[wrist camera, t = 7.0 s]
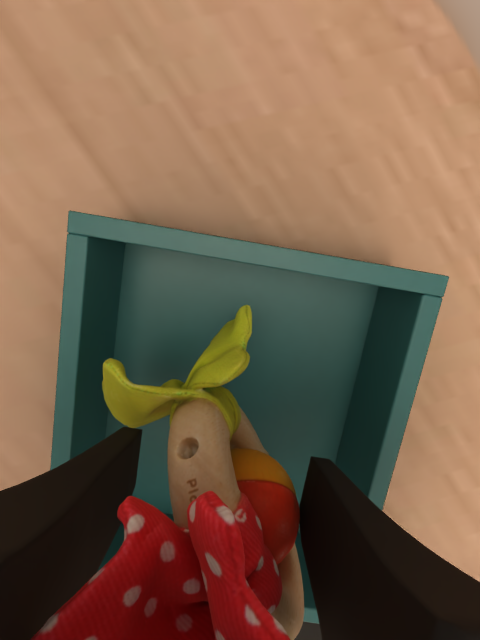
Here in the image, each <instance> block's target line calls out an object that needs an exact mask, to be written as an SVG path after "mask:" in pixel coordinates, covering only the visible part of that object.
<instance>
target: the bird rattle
mask: <svg viewBox="0 0 480 640" xmlns="http://www.w3.org/2000/svg"><path fill="white" fill-rule="evenodd" d="M251 333H252V312H251V308H250V306H249V305H244V306H242V307H241V308H240V309H239V310H238V312H237V314H236V317H235V319H233V320H231V321H229V322H227V323H226V324H225V325H224V326H223V327H222V329H221V330H220V331H219V332H218V334H217V335H216V336H215V337H214V338H213V339H212V341H211V342H210V345H209V346H208V347H207V348H206V350H205V351H204V352H203V353H202V355H201V356H200V357H199V359H198V360H197V362H196V363H195V365H194V367H193V368H192V370H191V372H190V374H189V376H188V378H187V380H186V382H185V383H184V382H182V381H180V380H177V379H171V380H169V381H167V382H166V383H164V384H163V385H161V386H160V387H158V386H149V385H137V384H133V383H132V382H131V381H129V379H128V378H127V377H126V373H125V368H124V366H123V364H122V363H121V362H120V361H118V360H116V359H112V358H109V359H107V360H105V362H104V363H103V381H102V389H103V394H104V400H105V402H106V404H107V406H108V408H109V410H110V411H111V413H112V415H113V416H114V417H115V418H116V419H117V420H118V421H120V422H121V423H122V424H124V425H127V426H128V427H130V428H137V427H140V426H143V425H146V424H148V423H151V422H153V421H156V420H158V419H161V418H163V417H165V416H167V415H170V431H169V438H168V460H167V464H168V481H169V492H170V500H171V506H172V511H173V517H174V522H173V521H172V520H171V519H170V518H169V517H168V516H166V515H165V514H164V513H162V512H161V511H160V510H158V509H157V508H156V507H154V506H153V505H151V504H149V503H147V502H145V501H143V500H141V499H139V498H136V497H134V496H128V497H127V498H126V499H125V500H124V501H123V502H122V503H121V504H120V505H119V508H118V511H117V517H118V518H119V520H120V521H121V522H122V523H123V525H124V542H123V544H122V546H121V547H120V549H119V550H118V552H117V553H116V555H115V556H114V557H113V558H112V559H111V560H110V561H109V562H108V563H107V564H106V565H105V566H104V567H102V568H101V569H100V570H99V571H98V572H97V573H96V574H95V575H94V576H93V577H92V578H91V579H90V580H89V581H88V582H87V583H86V584H85V585H84V586H83V587H82V588H81V589H80V590H79V591H78V592H77V593H76V594H75V595H74V596H73V597H72V598H71V599H70V600H68V601H67V602H66V603H65V604H64V605H63V606H62V607H61V608H60V609H59V610H58V611H57V612H56V613H55V614H54V615H52V616H51V617H50V618H49V619H48V620H47V622H46V623H45V624H44V626H43V627H42V628H41V629H40V630H39V631H38V632H37V633H36V634H35V635H34V636H33V637H32V638H31V639H30V640H294V639H295V638H296V636H297V635H298V633H299V632H300V629H301V627H302V624H303V618H304V591H303V583H302V575H301V569H300V563H299V559H298V554H297V549H296V545H295V540H296V537H297V533H298V529H299V521H300V511H299V504H298V501H297V497H296V492H295V488H294V486H293V483H292V481H291V479H290V477H289V475H288V474H287V472H286V471H285V470H284V468H283V467H282V466H281V465H280V464H279V463H278V462H277V461H276V460H275V459H274V458H272V457H271V456H269V454H268V452H267V451H266V450H265V449H264V447H263V446H262V444H261V442H260V440H259V438H258V436H257V434H256V432H255V430H254V428H253V426H252V424H251V423H250V421H249V419H248V418H247V416H246V415H245V413H244V412H243V411H242V409H241V408H240V406H239V405H238V403H237V401H236V399H235V398H234V396H233V395H232V393H231V392H230V391H229V390H228V389H226V388H224V387H222V386H221V385H224V384H226V383H228V382H230V381H231V380H233V379H235V378H236V377H238V376H239V375H240V374H241V373H243V372H244V371H245V369H246V368H247V366H248V364H249V360H250V356H249V354H248V352H246V347H247V342H248V340H249V338H250V336H251Z"/></svg>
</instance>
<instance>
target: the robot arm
mask: <svg viewBox="0 0 480 640" xmlns="http://www.w3.org/2000/svg"><path fill="white" fill-rule="evenodd" d="M142 430H143V429H136V428H130V427H122V428H120V429H119V430H117V431H116V432H114V433H113V434H111V435H110V436H108V437H107V438H105V439H104V440H102V441H100V442H99V443H97V444H96V445H94V446H93V447H91V448H89V449H88V450H86V451H85V452H83V453H81V454H79V455H78V456H76V457H74V458H72V459H70V460H69V461H67V462H65V463H63V464H61V465H60V466H58V467H56V468H54V469H52V470H50V471H48V472H46V473H44V474H42V475H39V476H37V477H35V478H33V479H30V480H28V481H26V482H23V483H21V484H18V485H16V486H13V487H10V488H7V489H5V490H2V491H0V640H30V639H31V638H32V637H33V636H34V635H35V634H36V633H37V632H38V631H39V630H40V629H41V628H42V627H43V626H44V624H45V623H46V622H47V620H48V619H49V618H50V617H51V616H52V615H54V614H55V613H56V612H57V611H58V610H59V609H60V608H61V607H62V606H63V605H64V604H65V603H66V602H67V601H68V600H70V599H71V598H72V597H73V596H74V595H75V594H76V593H77V592H78V591H79V590H80V589H81V588H82V587H83V586H84V585H85V584H86V583H87V582H88V581H89V580H90V579H91V578H92V577H93V576H94V575H95V574H96V573H97V571H98V569H99V567H100V565H101V563H102V561H103V559H104V557H105V555H106V553H107V551H108V549H109V547H110V545H111V543H112V541H113V539H114V537H115V535H116V533H117V530H118V528H119V526H120V524H121V521H120V520H119V518H118V517H117V511H118V508H119V505H120V504H121V503H122V502H123V501H124V500H125V499H126V498H127V497H128V496H132V494H133V491H134V488H135V485H136V478H137V470H138V462H139V454H140V446H141V438H142ZM299 511H300V521H299V525H300V535H301V543H302V548H303V552H304V557H305V561H306V566H307V570H308V575H309V579H310V584H311V588H312V592H313V597H314V601H315V606H316V610H317V614H318V619H319V625H320V630H321V635H322V640H480V582H479V581H477V580H475V579H474V578H472V577H470V576H469V575H467V574H465V573H464V572H462V571H461V570H459V569H458V568H456V567H455V566H453V565H452V564H450V563H449V562H447V561H446V560H444V559H443V558H441V557H440V556H438V555H437V554H435V553H434V552H432V551H431V550H430V549H428V548H427V547H425V546H424V545H423V544H421V543H420V542H419V541H418V540H416V539H415V538H414V537H412V536H411V535H410V534H409V533H407V532H406V531H405V530H403V529H402V528H401V527H400V526H399V525H397V524H396V523H395V522H394V521H393V520H392V519H391V518H389V517H388V516H387V515H386V514H385V513H384V512H383V511H382V510H381V509H379V508H378V507H377V506H376V505H375V504H374V503H373V502H372V501H371V500H370V499H369V498H368V497H367V496H366V495H365V494H364V493H363V492H362V491H361V490H360V489H359V488H358V487H357V486H356V485H355V484H354V483H353V482H352V481H351V480H350V479H349V478H348V477H347V476H346V475H345V474H344V473H343V472H342V471H341V470H340V469H339V468H338V467H337V466H336V465H335V464H334V463H333V462H332V461H331V460H330V459H326V458H319V457H313V456H311V458H310V462H309V466H308V471H307V475H306V479H305V484H304V488H303V492H302V497H301V501H300V505H299Z"/></svg>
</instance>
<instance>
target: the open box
mask: <svg viewBox="0 0 480 640" xmlns="http://www.w3.org/2000/svg"><path fill="white" fill-rule="evenodd" d="M67 232H68V234H67V245H66V259H65V273H64V287H63V301H62V315H61V329H60V343H59V357H58V371H57V385H56V399H55V413H54V427H53V441H52V455H51V469H50V470H52V469H54V468H56V467H58V466H60V465H61V464H63V463H65V462H67V461H69V460H70V459H72V458H74V457H76V456H78V455H79V454H81V453H83V452H85V451H86V450H88V449H89V448H91V447H93V446H94V445H96V444H97V443H99V442H100V441H102V440H104V439H105V438H107V437H108V436H110V435H111V434H113V433H114V432H116V431H117V430H119V429H120V428H122V427H128V426H127V425H124V424H122V423H121V422H120V421H118V420H117V419H116V418H115V417H114V416H113V415H112V413H111V411H110V410H109V408H108V406H107V404H106V402H105V400H104V394H103V389H102V381H103V363H104V362H105V360H107V359H109V358H112V359H116V360H118V361H120V362H121V363H122V364H123V366H124V368H125V373H126V377H127V378H128V379H129V381H131V382H132V383H133V384H137V385H149V386H158V387H160V386H161V385H163V384H164V383H166V382H167V381H169V380H171V379H177V380H180V381H182V382H184V383H185V382H186V380H187V378H188V376H189V374H190V372H191V370H192V368H193V367H194V365H195V363H196V362H197V360H198V359H199V357H200V356H201V355H202V353H203V352H204V351H205V350H206V348H207V347H208V346H209V345H210V342H211V341H212V339H213V338H214V337H215V336H216V335H217V334H218V332H219V331H220V330H221V329H222V327H223V326H224V325H225V324H226V323H227V322H229V321H231V320H233V319H235V317H236V314H237V312H238V310H239V309H240V308H241V307H242V306H244V305H249V306H250V308H251V312H252V333H251V336H250V338H249V340H248V342H247V347H246V352H248V354H249V356H250V360H249V364H248V366H247V368H246V369H245V371H244V372H243V373H241V374H240V375H239V376H238V377H236V378H235V379H233V380H231V381H230V382H228V383H226V384H224V385H221V386H222V387H224V388H226V389H228V390H229V391H230V392H231V393H232V395H233V396H234V398H235V399H236V401H237V403H238V405H239V406H240V408H241V409H242V411H243V412H244V413H245V415H246V416H247V418H248V419H249V421H250V423H251V424H252V426H253V428H254V430H255V432H256V434H257V436H258V438H259V440H260V442H261V444H262V446H263V447H264V449H265V450H266V451H267V452H268V454H269V456H271V457H272V458H274V459H275V460H276V461H277V462H278V463H279V464H280V465H281V466H282V467H283V468H284V470H285V471H286V472H287V474H288V475H289V477H290V479H291V481H292V483H293V486H294V488H295V492H296V497H297V501H298V504H299V505H300V501H301V497H302V492H303V488H304V484H305V479H306V475H307V471H308V466H309V462H310V458H311V456H313V457H319V458H326V459H330V460H331V461H332V462H333V463H334V464H335V465H336V466H337V467H338V468H339V469H340V470H341V471H342V472H343V473H344V474H345V475H346V476H347V477H348V478H349V479H350V480H351V481H352V482H353V483H354V484H355V485H356V486H357V487H358V488H359V489H360V490H361V491H362V492H363V493H364V494H365V495H366V496H367V497H368V498H369V499H370V500H371V501H372V502H373V503H374V504H375V505H376V506H377V507H378V508H379V509H381V510H382V509H383V505H384V502H385V498H386V495H387V491H388V488H389V484H390V481H391V477H392V474H393V470H394V467H395V463H396V460H397V456H398V453H399V449H400V446H401V442H402V439H403V435H404V432H405V428H406V425H407V421H408V418H409V414H410V411H411V407H412V404H413V400H414V397H415V393H416V390H417V386H418V383H419V379H420V376H421V372H422V369H423V365H424V362H425V358H426V355H427V351H428V347H429V344H430V340H431V337H432V333H433V330H434V326H435V323H436V319H437V316H438V312H439V309H440V305H441V302H442V298H441V297H443V296H444V293H445V289H446V286H447V282H448V279H449V277H448V276H445V275H439V274H433V273H428V272H422V271H416V270H410V269H405V268H399V267H393V266H388V265H382V264H376V263H370V262H365V261H359V260H353V259H347V258H341V257H336V256H330V255H324V254H318V253H313V252H307V251H301V250H295V249H290V248H284V247H278V246H272V245H266V244H261V243H255V242H249V241H243V240H238V239H232V238H226V237H220V236H214V235H209V234H203V233H197V232H191V231H186V230H180V229H174V228H168V227H163V226H157V225H151V224H145V223H139V222H134V221H128V220H122V219H116V218H110V217H105V216H99V215H93V214H87V213H81V212H75V211H69V215H68V229H67ZM136 429H143V430H142V438H141V446H140V454H139V462H138V470H137V478H136V485H135V488H134V491H133V494H132V496H134V497H136V498H139V499H141V500H143V501H145V502H147V503H149V504H151V505H153V506H154V507H156V508H157V509H158V510H160V511H161V512H162V513H164V514H165V515H166V516H168V517H169V518H170V519H171V520H172V521H173V522H174V517H173V511H172V506H171V500H170V492H169V481H168V464H167V460H168V438H169V431H170V415H167V416H165V417H163V418H161V419H158V420H156V421H153V422H151V423H148V424H146V425H143V426H140V427H137V428H136ZM123 542H124V525H123V523H122V522H121V524H120V526H119V528H118V530H117V533H116V535H115V537H114V539H113V541H112V543H111V545H110V547H109V549H108V551H107V553H106V555H105V557H104V559H103V561H102V563H101V565H100V567H99V569H98V571H99V570H100V569H101V568H102V567H104V566H105V565H106V564H107V563H108V562H109V561H110V560H111V559H112V558H113V557H114V556H115V555H116V553H117V552H118V550H119V549H120V547H121V546H122V544H123ZM295 545H296V549H297V554H298V559H299V563H300V569H301V575H302V583H303V591H304V618H303V622H310V623H317V624H319V619H318V614H317V610H316V606H315V601H314V597H313V592H312V588H311V584H310V579H309V575H308V570H307V566H306V561H305V557H304V552H303V548H302V543H301V535H300V525H299V529H298V533H297V537H296V540H295ZM98 571H97V572H98Z"/></svg>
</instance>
